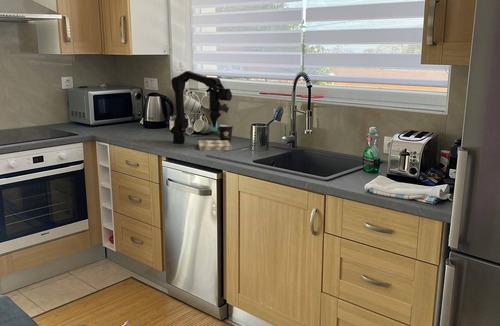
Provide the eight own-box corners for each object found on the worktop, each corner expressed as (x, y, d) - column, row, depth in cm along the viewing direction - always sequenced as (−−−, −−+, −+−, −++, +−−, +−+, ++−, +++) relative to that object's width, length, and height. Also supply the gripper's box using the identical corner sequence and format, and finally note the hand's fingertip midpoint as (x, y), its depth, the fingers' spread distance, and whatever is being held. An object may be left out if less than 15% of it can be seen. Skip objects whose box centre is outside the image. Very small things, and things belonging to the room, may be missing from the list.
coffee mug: (234, 140, 316) (234, 125, 314) (229, 143, 308) (229, 127, 306) (217, 139, 320) (217, 123, 318) (212, 141, 312) (212, 125, 310)
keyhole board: (199, 150, 284) (199, 146, 283) (198, 144, 301) (198, 140, 300) (231, 150, 286) (231, 145, 286) (228, 144, 304) (228, 140, 303)
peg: (210, 131, 288) (210, 115, 287) (209, 130, 293) (209, 114, 291) (218, 131, 289) (218, 115, 287) (218, 129, 294) (218, 114, 292)
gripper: (229, 101, 279) (229, 129, 283) (226, 98, 297) (226, 124, 301) (209, 101, 278) (209, 129, 281) (208, 98, 296) (208, 124, 299)
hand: (214, 126), depth 291 cm, fingers closed on peg, 4 cm apart
